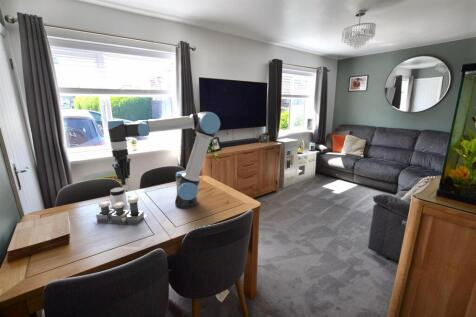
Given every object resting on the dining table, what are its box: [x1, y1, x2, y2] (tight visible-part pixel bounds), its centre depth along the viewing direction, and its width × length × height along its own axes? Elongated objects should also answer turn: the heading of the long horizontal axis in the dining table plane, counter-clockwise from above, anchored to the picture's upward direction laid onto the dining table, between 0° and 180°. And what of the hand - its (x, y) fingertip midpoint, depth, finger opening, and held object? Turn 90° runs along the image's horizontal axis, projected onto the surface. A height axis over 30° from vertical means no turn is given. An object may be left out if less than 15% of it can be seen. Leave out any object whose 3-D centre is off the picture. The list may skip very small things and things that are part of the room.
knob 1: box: [98, 200, 111, 214], centre depth 130 cm, size 6×6×9 cm
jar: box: [109, 187, 128, 208], centre depth 146 cm, size 9×8×12 cm
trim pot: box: [120, 213, 127, 224], centre depth 125 cm, size 3×3×5 cm
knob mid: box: [113, 202, 126, 215], centre depth 129 cm, size 6×6×9 cm
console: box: [93, 208, 148, 227], centre depth 130 cm, size 26×12×5 cm, turn 85°
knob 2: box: [127, 196, 139, 215], centre depth 127 cm, size 6×6×9 cm
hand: (126, 189), depth 125 cm, fingers closed
